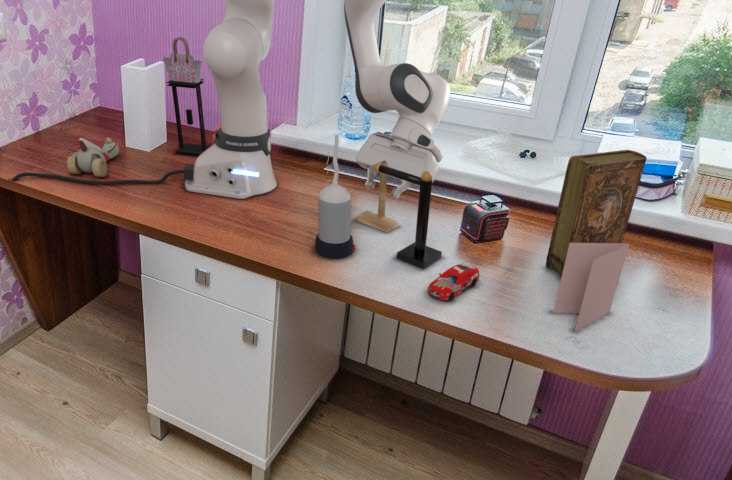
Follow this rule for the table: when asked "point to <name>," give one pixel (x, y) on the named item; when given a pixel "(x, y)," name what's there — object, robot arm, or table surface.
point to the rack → (418, 250)
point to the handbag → (188, 76)
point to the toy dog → (92, 158)
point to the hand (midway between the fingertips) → (381, 192)
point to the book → (595, 201)
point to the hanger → (373, 218)
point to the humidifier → (334, 218)
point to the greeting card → (590, 280)
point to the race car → (454, 282)
